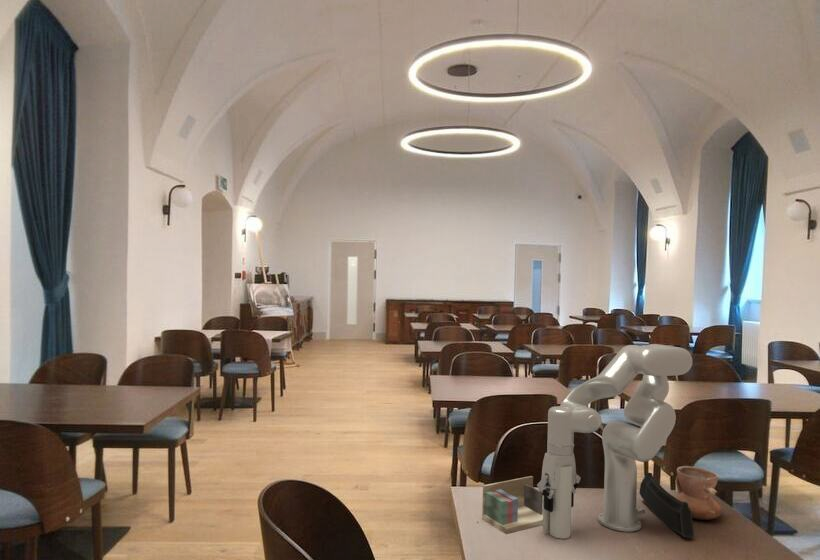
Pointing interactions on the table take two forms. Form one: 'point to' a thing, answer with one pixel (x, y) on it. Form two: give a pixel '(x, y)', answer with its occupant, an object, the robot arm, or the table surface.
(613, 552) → the table surface
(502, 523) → the book rack
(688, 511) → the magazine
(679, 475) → the ceramic jug
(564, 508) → the paper towel roll
